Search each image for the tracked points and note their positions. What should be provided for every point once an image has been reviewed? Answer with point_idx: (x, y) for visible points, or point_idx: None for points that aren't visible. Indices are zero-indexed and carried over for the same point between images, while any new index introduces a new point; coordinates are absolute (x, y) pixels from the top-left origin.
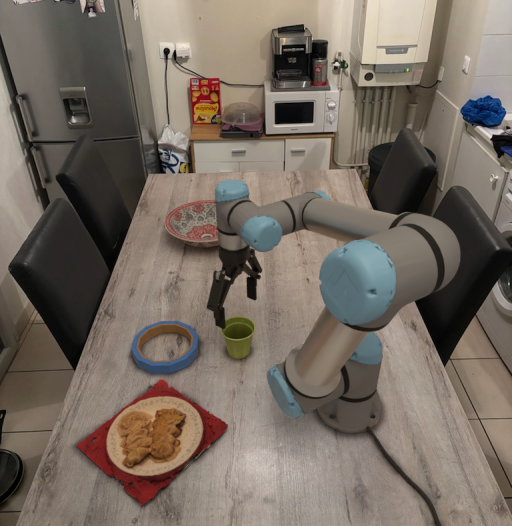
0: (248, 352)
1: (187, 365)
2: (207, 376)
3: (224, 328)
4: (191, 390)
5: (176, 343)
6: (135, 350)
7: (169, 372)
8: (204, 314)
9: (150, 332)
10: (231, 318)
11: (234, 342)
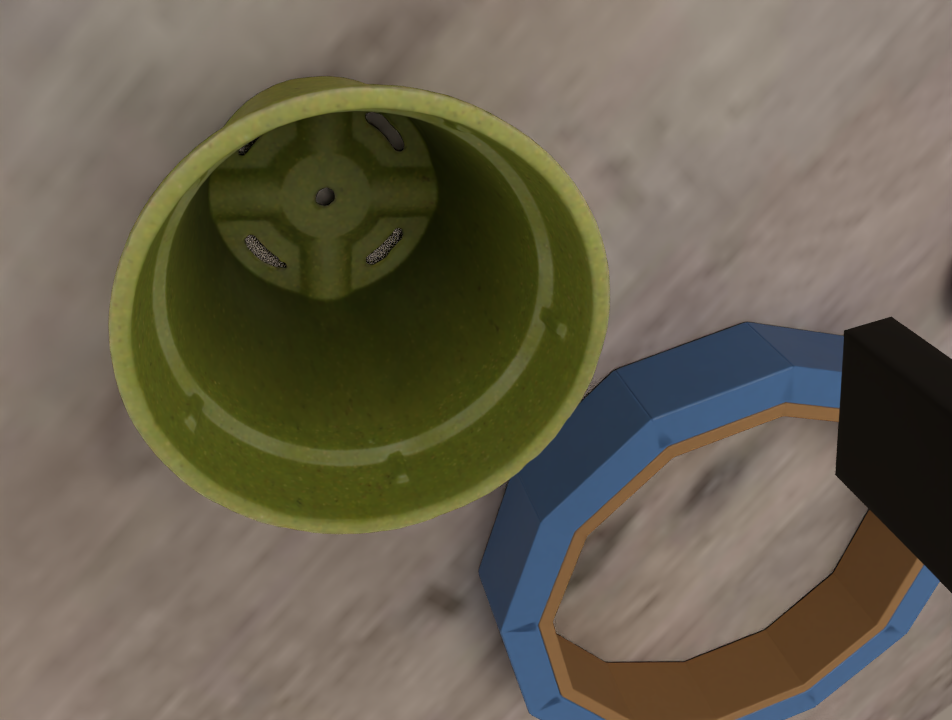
0: (291, 84)
1: (748, 326)
2: (734, 131)
3: (877, 326)
4: (915, 95)
5: (619, 547)
6: (907, 609)
7: None
8: (261, 689)
9: (700, 696)
10: (314, 516)
11: (534, 183)
